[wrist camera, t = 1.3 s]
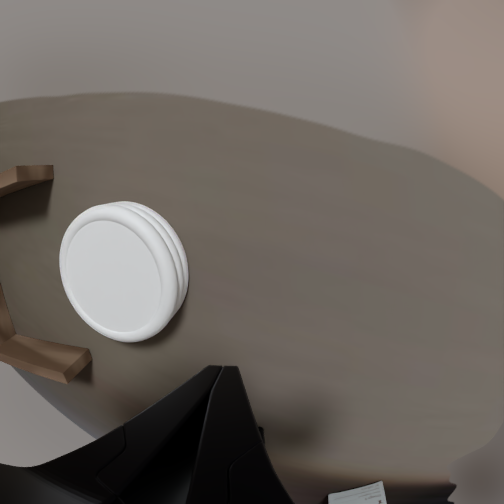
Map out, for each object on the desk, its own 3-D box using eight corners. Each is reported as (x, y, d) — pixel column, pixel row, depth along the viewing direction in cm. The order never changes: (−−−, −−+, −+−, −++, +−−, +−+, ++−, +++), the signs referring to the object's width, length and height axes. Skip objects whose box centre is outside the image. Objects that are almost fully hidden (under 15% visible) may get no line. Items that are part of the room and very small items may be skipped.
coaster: (65, 241, 21) (39, 250, 18) (147, 174, 19) (122, 174, 16) (124, 339, 23) (104, 360, 19) (216, 294, 21) (204, 315, 17)
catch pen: (92, 359, 24) (67, 384, 19) (14, 341, 25) (-8, 357, 21) (52, 165, 20) (16, 166, 15) (-19, 194, 21) (-47, 199, 17)
